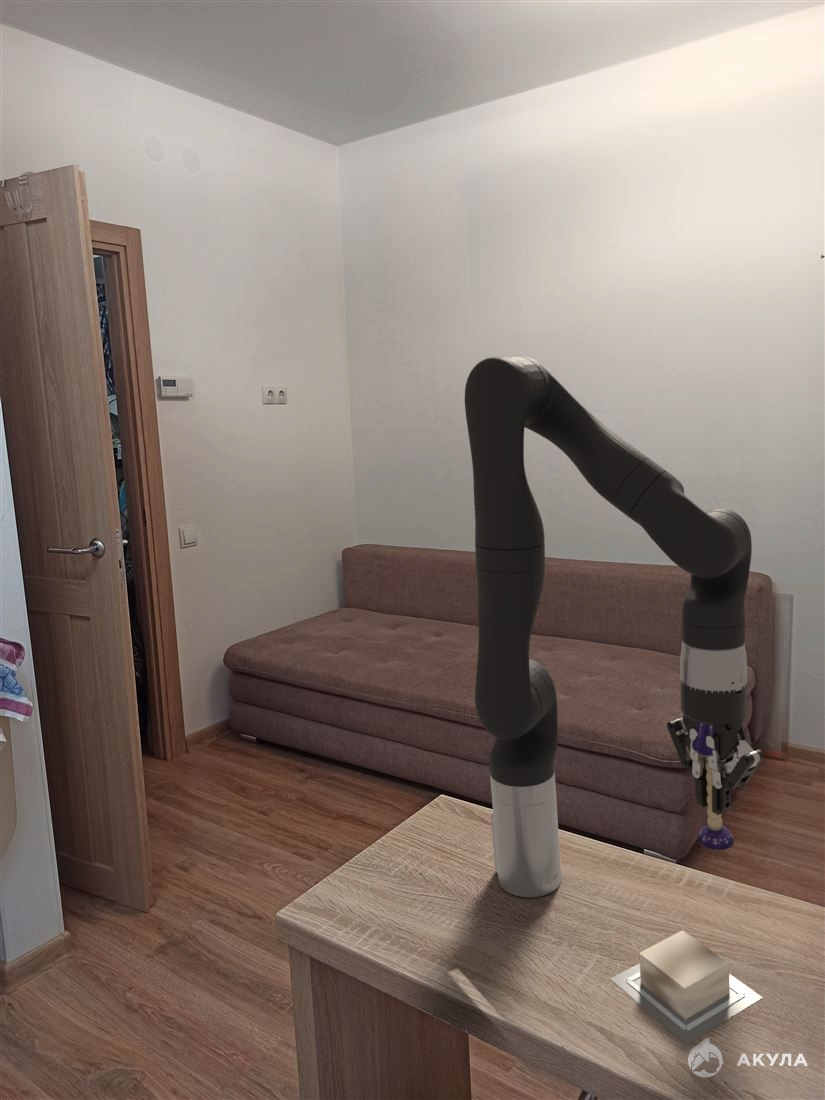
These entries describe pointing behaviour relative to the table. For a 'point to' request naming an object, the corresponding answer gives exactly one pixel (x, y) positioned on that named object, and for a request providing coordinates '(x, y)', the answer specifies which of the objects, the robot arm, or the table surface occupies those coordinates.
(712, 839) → the toy lamp
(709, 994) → the cream block
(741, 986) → the slate board
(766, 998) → the table surface
